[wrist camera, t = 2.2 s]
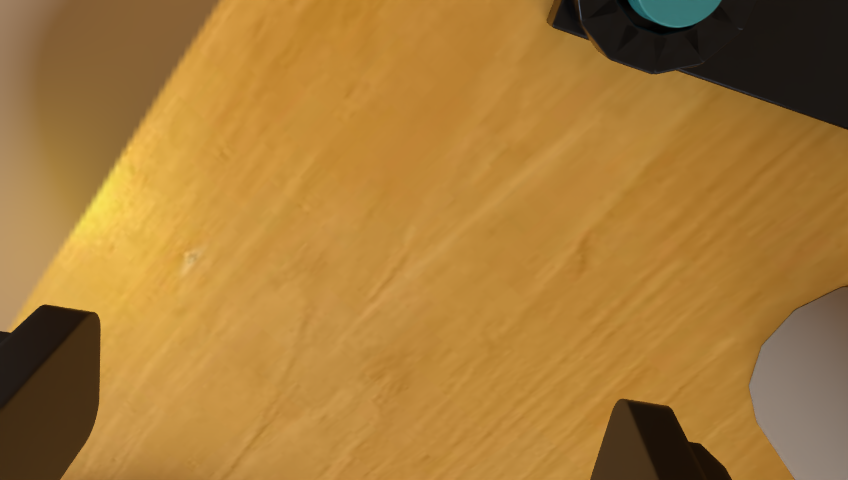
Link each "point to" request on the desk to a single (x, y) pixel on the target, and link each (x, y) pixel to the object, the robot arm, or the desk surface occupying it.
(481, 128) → the desk surface
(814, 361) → the cup
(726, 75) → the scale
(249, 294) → the desk surface
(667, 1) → the power button
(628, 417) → the robot arm
